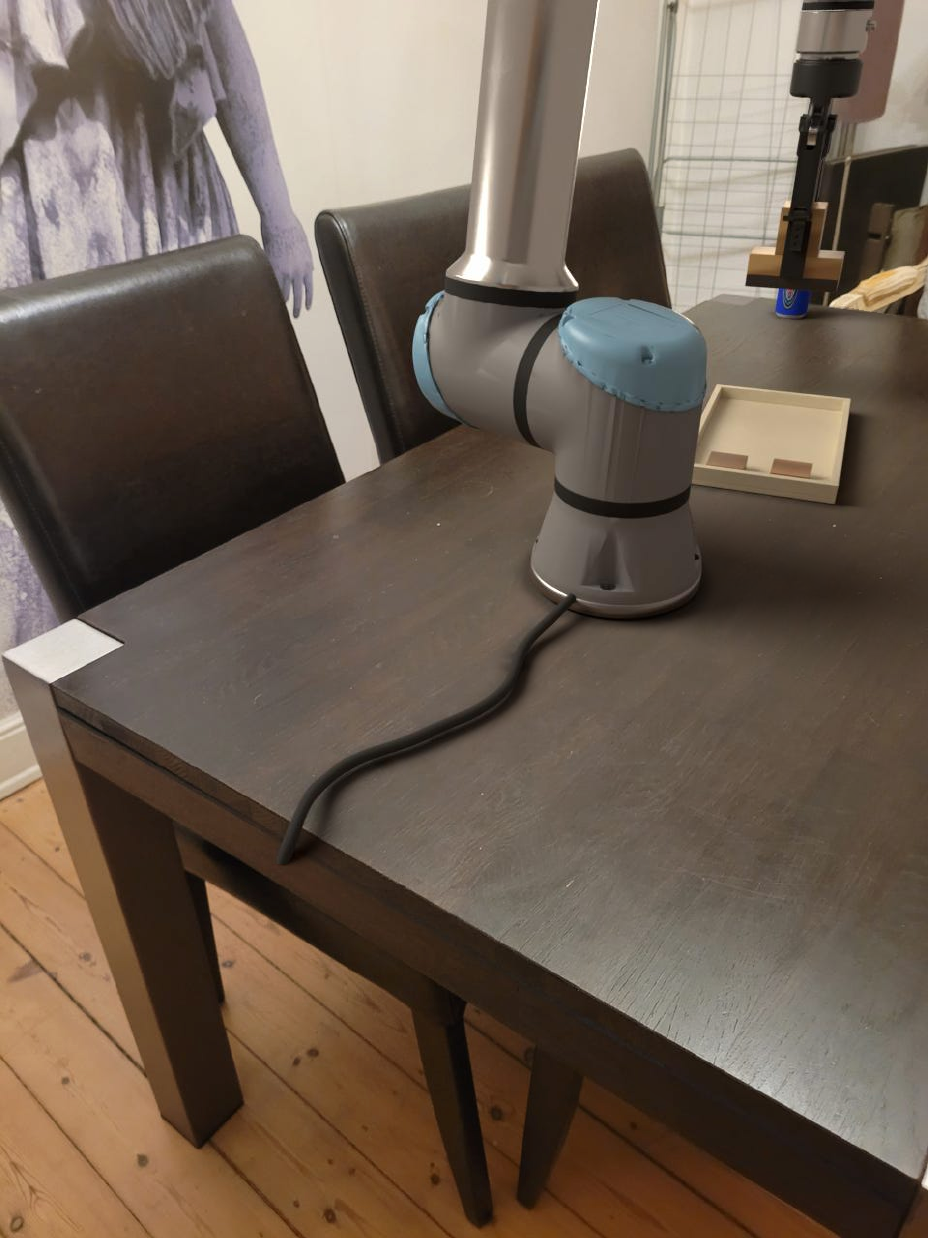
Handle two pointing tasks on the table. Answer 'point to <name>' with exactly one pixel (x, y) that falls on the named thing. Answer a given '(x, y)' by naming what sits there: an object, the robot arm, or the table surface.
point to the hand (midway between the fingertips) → (793, 271)
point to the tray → (773, 441)
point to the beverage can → (792, 303)
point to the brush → (819, 263)
